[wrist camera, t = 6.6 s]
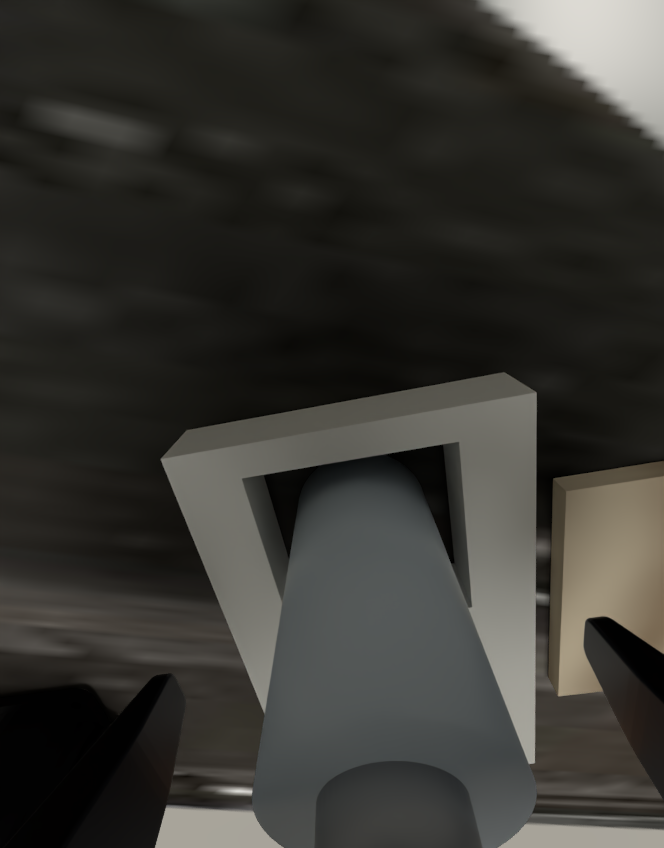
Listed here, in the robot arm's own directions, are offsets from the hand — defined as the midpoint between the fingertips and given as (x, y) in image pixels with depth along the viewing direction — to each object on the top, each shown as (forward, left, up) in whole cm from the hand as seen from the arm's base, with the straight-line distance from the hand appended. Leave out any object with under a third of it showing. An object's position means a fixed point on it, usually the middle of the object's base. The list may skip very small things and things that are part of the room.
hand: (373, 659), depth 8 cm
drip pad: (+10, -5, -6) cm, 13 cm away
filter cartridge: (0, 0, -6) cm, 6 cm away
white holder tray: (0, -4, -6) cm, 7 cm away
